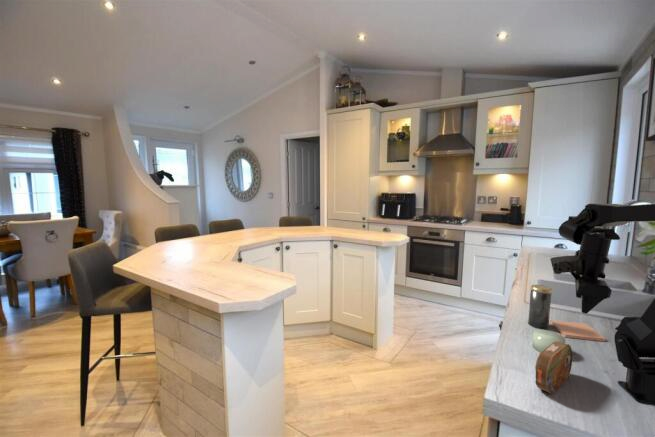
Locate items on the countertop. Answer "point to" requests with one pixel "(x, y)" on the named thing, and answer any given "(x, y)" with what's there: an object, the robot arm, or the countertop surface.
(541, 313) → the canister
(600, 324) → the countertop surface
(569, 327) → the plate
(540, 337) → the pale green rounded piece
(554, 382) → the tin
